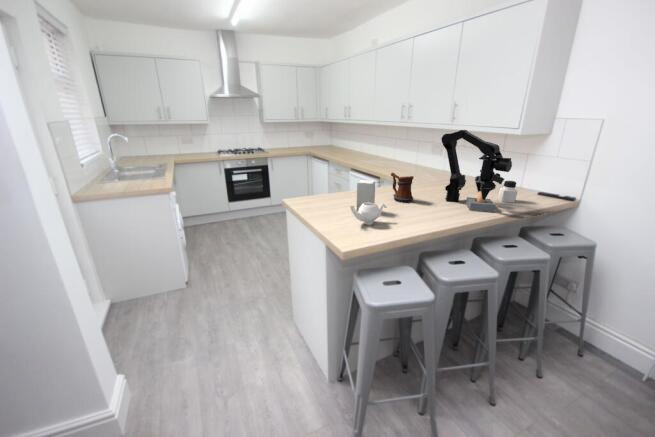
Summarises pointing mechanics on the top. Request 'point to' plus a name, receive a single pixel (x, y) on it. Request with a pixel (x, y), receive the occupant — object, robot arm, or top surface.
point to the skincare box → (365, 192)
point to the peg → (480, 197)
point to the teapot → (368, 212)
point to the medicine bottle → (508, 192)
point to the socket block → (480, 205)
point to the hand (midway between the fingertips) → (481, 197)
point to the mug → (403, 188)
